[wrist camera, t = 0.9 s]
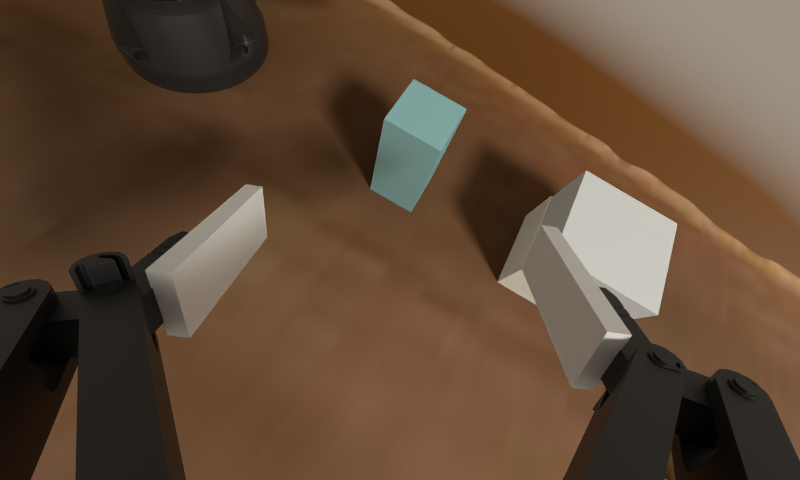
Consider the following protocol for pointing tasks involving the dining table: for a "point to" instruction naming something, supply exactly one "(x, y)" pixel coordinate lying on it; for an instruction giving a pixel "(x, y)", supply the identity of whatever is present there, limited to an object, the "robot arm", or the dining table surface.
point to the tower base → (522, 253)
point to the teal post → (413, 143)
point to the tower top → (615, 240)
